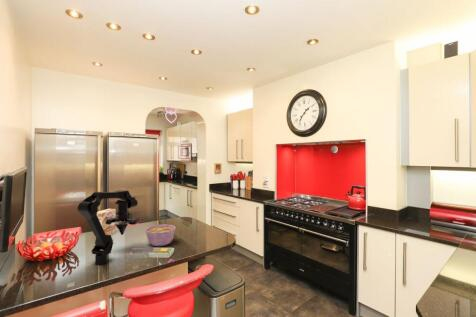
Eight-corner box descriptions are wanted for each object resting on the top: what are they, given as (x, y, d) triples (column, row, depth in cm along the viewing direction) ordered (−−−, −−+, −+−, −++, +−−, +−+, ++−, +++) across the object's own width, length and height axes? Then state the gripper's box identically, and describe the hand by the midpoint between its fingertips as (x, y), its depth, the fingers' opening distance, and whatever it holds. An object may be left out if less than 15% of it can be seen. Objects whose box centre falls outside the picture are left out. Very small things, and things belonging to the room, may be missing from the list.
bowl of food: (180, 241, 168) (180, 225, 168) (165, 251, 149) (165, 234, 149) (157, 238, 173) (157, 223, 173) (138, 248, 154) (139, 231, 154)
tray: (169, 259, 138) (169, 253, 138) (148, 258, 138) (148, 253, 138) (174, 253, 147) (174, 247, 147) (153, 252, 147) (153, 247, 147)
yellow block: (166, 255, 140) (166, 251, 140) (159, 255, 140) (159, 250, 140) (168, 253, 144) (168, 248, 144) (162, 253, 144) (162, 248, 144)
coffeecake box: (102, 239, 171) (102, 212, 172) (93, 238, 173) (94, 212, 173) (115, 232, 186) (116, 208, 186) (107, 232, 187) (108, 208, 187)
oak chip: (159, 255, 140) (159, 251, 140) (153, 255, 140) (153, 250, 140) (161, 253, 144) (161, 248, 144) (155, 253, 144) (155, 248, 144)
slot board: (147, 259, 137) (147, 255, 137) (124, 259, 137) (124, 255, 137) (154, 252, 148) (154, 248, 148) (132, 251, 148) (133, 248, 148)
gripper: (142, 207, 153) (142, 231, 153) (115, 207, 153) (114, 230, 153) (135, 211, 142) (134, 236, 142) (105, 211, 142) (104, 236, 142)
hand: (122, 234), depth 145 cm, fingers closed
